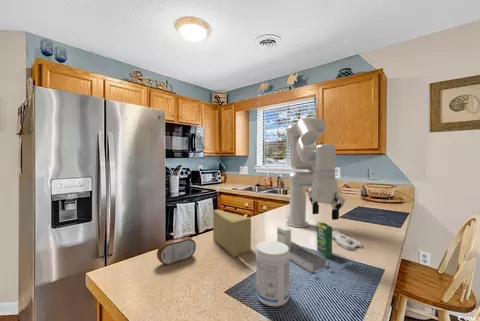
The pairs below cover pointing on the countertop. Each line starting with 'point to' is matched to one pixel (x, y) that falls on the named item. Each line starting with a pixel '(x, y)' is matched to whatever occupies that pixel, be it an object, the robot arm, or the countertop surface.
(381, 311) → the countertop surface
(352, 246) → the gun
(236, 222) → the cheese
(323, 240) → the coffee box
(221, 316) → the countertop surface
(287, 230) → the small white carton
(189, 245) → the tin
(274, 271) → the supplement tub
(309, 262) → the rail
